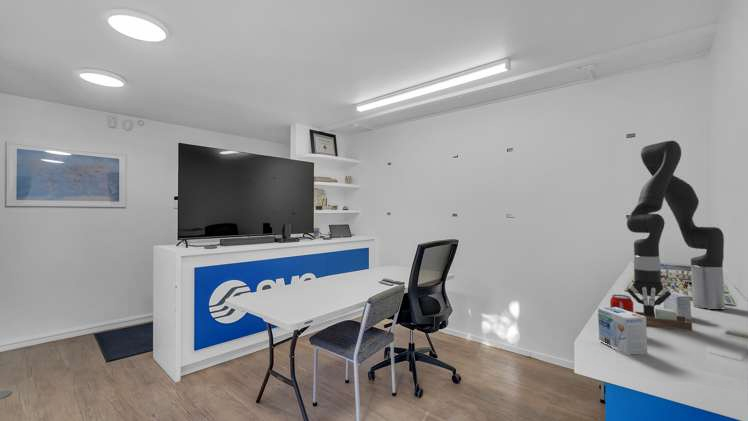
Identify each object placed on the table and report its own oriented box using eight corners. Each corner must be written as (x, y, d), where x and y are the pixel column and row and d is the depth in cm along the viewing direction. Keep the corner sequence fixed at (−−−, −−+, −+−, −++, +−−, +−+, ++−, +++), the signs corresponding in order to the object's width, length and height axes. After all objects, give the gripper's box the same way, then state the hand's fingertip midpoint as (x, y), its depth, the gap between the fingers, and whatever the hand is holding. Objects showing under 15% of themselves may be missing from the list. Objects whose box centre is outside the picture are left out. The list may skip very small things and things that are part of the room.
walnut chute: (635, 318, 124) (634, 311, 124) (684, 323, 117) (684, 316, 117) (639, 324, 117) (639, 317, 117) (692, 330, 110) (691, 323, 110)
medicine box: (692, 320, 120) (690, 296, 121) (677, 319, 121) (676, 296, 121) (676, 313, 128) (675, 291, 128) (663, 313, 129) (662, 291, 129)
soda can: (630, 329, 113) (628, 294, 113) (638, 335, 107) (636, 299, 107) (608, 327, 115) (607, 293, 115) (615, 334, 109) (613, 298, 109)
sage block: (655, 321, 120) (654, 307, 120) (673, 323, 117) (672, 309, 117) (658, 325, 116) (657, 311, 116) (677, 327, 113) (676, 313, 113)
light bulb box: (598, 341, 103) (596, 307, 103) (617, 340, 104) (616, 306, 104) (627, 356, 93) (625, 317, 93) (649, 354, 93) (647, 316, 93)
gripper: (668, 267, 119) (670, 315, 119) (623, 265, 126) (624, 310, 126) (673, 270, 113) (675, 321, 112) (625, 268, 120) (627, 315, 119)
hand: (648, 315), depth 119 cm, fingers closed
